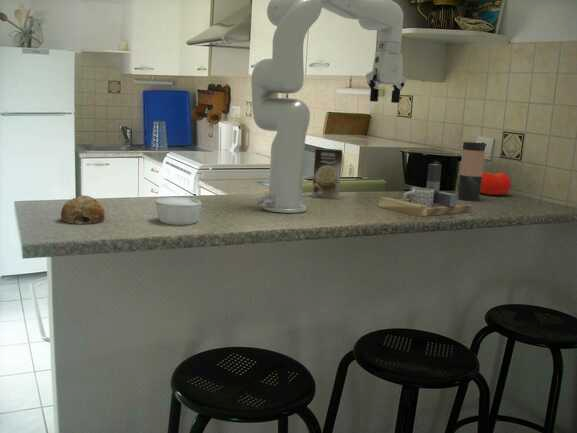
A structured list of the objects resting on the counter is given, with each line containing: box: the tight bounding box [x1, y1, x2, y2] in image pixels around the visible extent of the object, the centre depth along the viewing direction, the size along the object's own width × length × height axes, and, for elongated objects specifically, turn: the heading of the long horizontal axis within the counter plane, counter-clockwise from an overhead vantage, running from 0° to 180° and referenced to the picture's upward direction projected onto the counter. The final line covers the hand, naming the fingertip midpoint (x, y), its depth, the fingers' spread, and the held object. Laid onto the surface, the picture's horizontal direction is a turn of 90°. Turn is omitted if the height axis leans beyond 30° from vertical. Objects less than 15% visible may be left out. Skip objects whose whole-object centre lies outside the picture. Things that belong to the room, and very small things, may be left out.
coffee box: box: [311, 147, 343, 200], centre depth 210 cm, size 9×6×16 cm
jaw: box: [407, 163, 458, 207], centre depth 197 cm, size 3×17×12 cm, turn 35°
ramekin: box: [155, 197, 202, 226], centre depth 157 cm, size 11×11×5 cm
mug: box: [402, 187, 434, 208], centre depth 194 cm, size 10×7×7 cm, turn 106°
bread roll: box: [60, 194, 105, 225], centre depth 152 cm, size 10×10×8 cm
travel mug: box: [457, 141, 486, 202], centre depth 222 cm, size 8×8×20 cm
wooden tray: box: [378, 196, 474, 218], centre depth 196 cm, size 24×17×3 cm
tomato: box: [480, 171, 512, 197], centre depth 240 cm, size 13×12×8 cm
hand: (384, 102), depth 208 cm, fingers open, 9 cm apart
